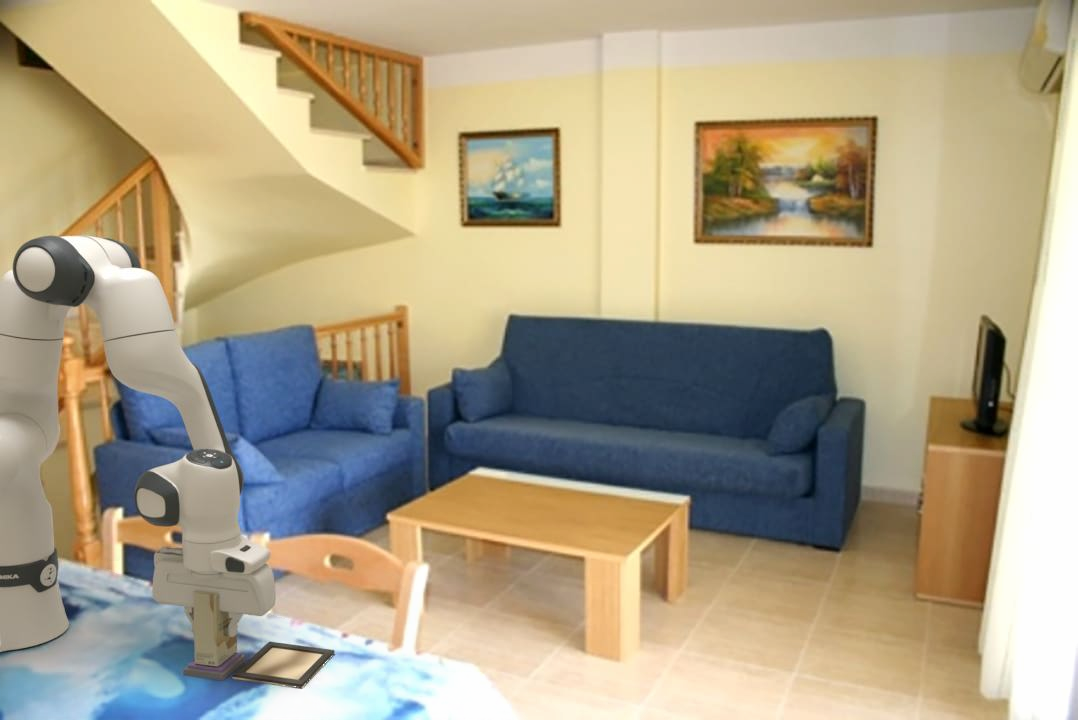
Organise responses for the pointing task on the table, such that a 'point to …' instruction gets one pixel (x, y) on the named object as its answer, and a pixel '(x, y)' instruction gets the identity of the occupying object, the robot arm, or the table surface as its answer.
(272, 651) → the framed board
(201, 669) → the pad
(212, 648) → the skincare box
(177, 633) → the table surface
